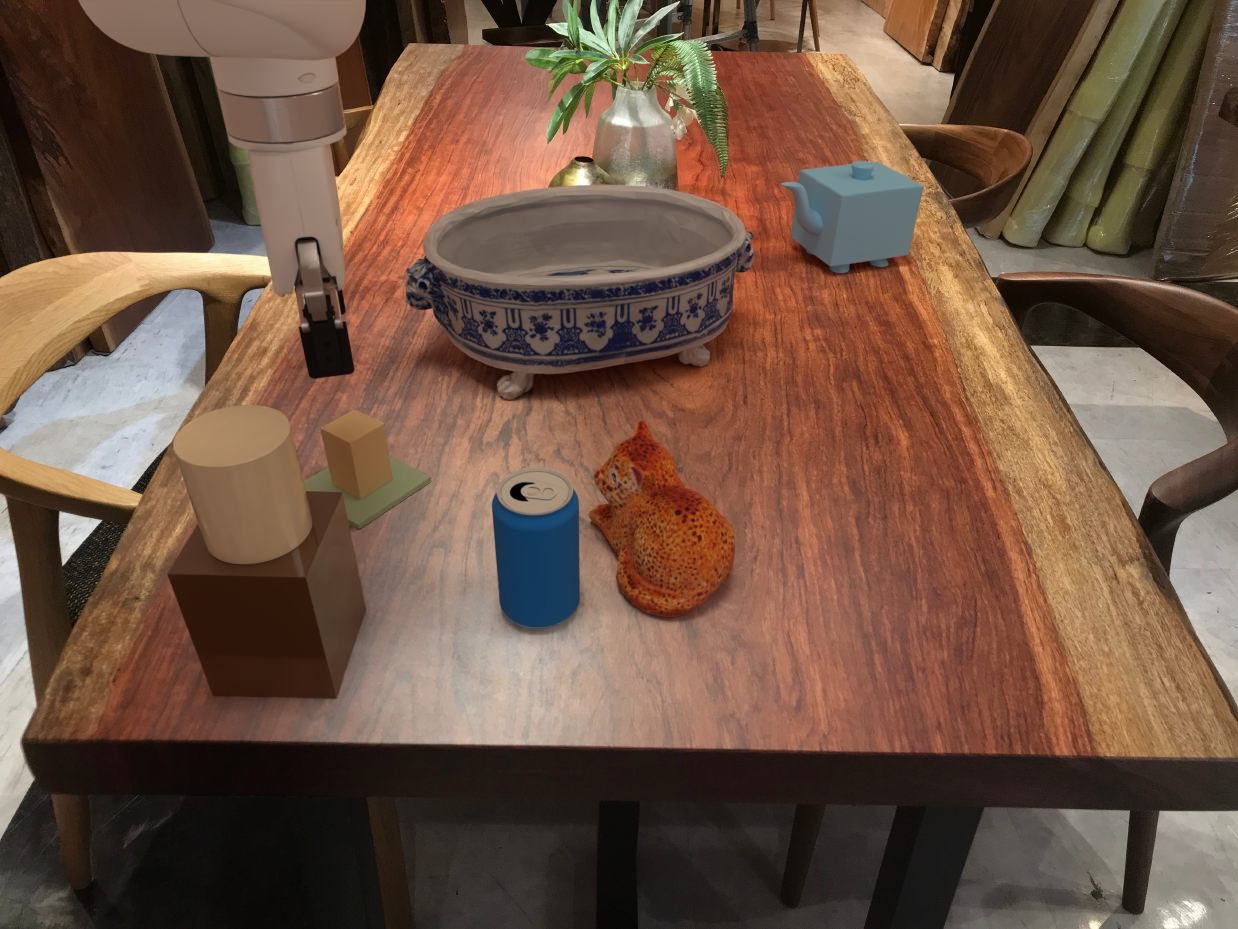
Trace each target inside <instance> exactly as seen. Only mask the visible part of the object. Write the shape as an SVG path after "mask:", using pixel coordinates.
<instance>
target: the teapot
mask: <svg viewBox="0 0 1238 929" xmlns="http://www.w3.org/2000/svg"><path fill="white" fill-rule="evenodd" d="M780 185H781V186H782V187H785V188H786V189H788V190H789V191H790V192H791V193H792V195H793V199H794V209H793V210H794V211H793V216H792V217H793V218H792V225H791V233H790V238H791V239H792V240H793V241H794V242H796V243H798V244H799V245H800V246H802V247H803V248H804V249H805V252H806V253H807V254H809V255H813V256H815V257H816V258H818V259H819V260H821V261H822V262H823V263H825V264H826V265H827V266H829V270H830V271H831V272H834V273H837V274H846V273H848V272H849V271H850V266H851V265H850V264H856V263H857V264H858V263H864V262H868V263H869V264H870V265H871V266H874V267H878V268H885V267H888V266H889V264H890V263H889V261H888V259H891V258H897V257H905V256H909V255H910V250H911V245H912V242H913V237H914V232H915V229H916V223H917V219H918V214H919V210H920V207H921V206H920V205H921V201H922V198H923V193H924V188H925V187H924V185H923V184H921V183H919V182H917V181H915V180H913V179H912V178H911V177H909V176H908V175H906V174H904V173H901V172H898V171H896V170H895V169H893V168H891V167H889V166H887V165H886V164H883V163H881V162H879V161H868V160H867V161H866V160H856V161H853V162H852V163H848V164H840V165H832V166H824V167H822V166H821V167H814V168H804V169H800V171H799V174H798V182H796V181H786V182H781V183H780Z"/></svg>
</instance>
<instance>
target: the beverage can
mask: <svg viewBox="0 0 1238 929" xmlns="http://www.w3.org/2000/svg"><path fill="white" fill-rule="evenodd" d="M491 513H492V514H491V515H492V524H493V525H492V526H493V538H494V551H495V564H496V576H497V587H498V599H499V601H498V602H499V606H500V609H501V611H502V613H503V615H504V616H505V617H506V618H507V619H508V620H510V621H511V622H513V623H515V624H516V625H519V626H521V627H524V628H530V629H544V628H550V627H554V626H557V625H559V624H562V623H564V622H566V621H567V620H568V619H570V618H571V617H572V616H573V615H574V614H575V612H576V611H577V609H578V608H579V604H580V600H581V596H580V595H581V594H580V593H581V592H580V590H581V587H580V583H581V582H580V574H581V573H580V572H581V571H580V500H579V497H578V494H577V491H576V490H575V489H574V485H573V482H572V481H571V479H570V478H569V477H568V476H567V475H566V474H565V473H563V472H561V471H559V470H557V469H554V468H551V467H545V466H529V467H523V468H518V469H516V470H513V471H511V472H509V473H508V474H506V475H505V476H503V477H502V478H501V479H500V481H499V482H498V484H497V487H496V492H495V493H494V495H493V498H492V501H491Z"/></svg>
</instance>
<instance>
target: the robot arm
mask: <svg viewBox="0 0 1238 929" xmlns="http://www.w3.org/2000/svg"><path fill="white" fill-rule="evenodd" d="M78 2H79V4H80V6H81V8H82V9H83V11H84V13H85V14H86V16H87V17H88V18H89V19H90V21H91V22H92V23H93V24H94V25H95V26H96V27H97V28H98V29H99V30H100V31H101V32H102V33H104V34H105V35H106V36H108V37H109V38H110V39H112V40H114V42H117V43H118V44H121V45H122V46H125V47H127V48H130V49H132V50H136V51H137V52H142V53H147V54H154V55H159V56H160V55H161V56H172V57H196V58H197V57H199V58H200V57H202V58H209V61H210V65H211V69H212V75H213V77H214V82H215V86H216V91H217V95H218V99H219V104H220V108H221V111H222V115H223V122H224V125H225V129H226V130H225V131H226V134H227V138H228V141H229V143H230V144H232V145H233V146H235V147H237V148H239V149H243V150H247V155H248V163H249V169H250V175H251V182H252V188H253V193H254V199H255V203H256V204H255V205H256V208H257V213H258V217H259V223H260V227H261V233H262V237H263V243H264V246H265V247H264V248H265V251H266V257H267V261H268V266H269V267H268V268H269V272H270V278H271V282H272V283H271V284H272V287H273V293H275V294H276V295H277V296H278V297H280V298H285V296H286V295H292V294H293V292H294V293H295V298H296V304H297V310H298V315H299V316H298V317H299V322H300V326H298V332H299V336H300V341H301V345H302V351H303V355H304V359H305V360H304V361H305V365H306V370H307V374H308V377H309V378H311V379H314V380H317V379H324V378H330V377H332V378H333V377H340V376H348V375H352V374H353V373H354V372H355V363H354V359H353V353H352V352H353V351H352V346H351V341H350V336H349V330H348V323H347V321H345V320H344V321H343V318H342V316H344V314H345V313H346V311H347V310H346V304H345V299H344V294H343V293H344V292H343V288H344V287H345V286H346V266H345V265H346V264H345V248H344V235H343V226H342V225H343V224H342V216H341V206H340V198H339V192H338V185H337V179H336V172H335V165H334V159H333V154H332V153H333V152H332V148H331V145H332V144H334V143H336V142H337V143H338V142H339V141H341V140H342V139H344V137H345V136H346V135H347V133H348V130H347V125H346V118H345V113H344V106H343V99H342V94H341V92H342V91H341V86H340V80H339V72H338V65H337V59H336V57H338V56H340V55H342V54H344V53H345V52H346V51H347V50H348V49H349V48H350V47H351V46H352V45H353V44H354V43H355V41H356V40H357V37H358V36H359V34H360V32H361V29H362V26H363V24H364V19H365V14H366V5H367V4H366V2H367V0H78Z"/></svg>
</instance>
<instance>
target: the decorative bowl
mask: <svg viewBox="0 0 1238 929" xmlns="http://www.w3.org/2000/svg"><path fill="white" fill-rule="evenodd" d="M754 238H755V236H754V232H752V231H747V230H746V227H745V224H744V222H743V221H742V220H741V219H740V217H739V216H738V215H737V214H736V213H735V212H733V211H732V210H731V209H730V208H728V207H726V206H724V205H722V204H721V203H720V204H719V203H718V202H716V201H714V200H711V199H708V198H704V197H702V196H699V195H696V194H692V193H687V192H683V191H679V190H674V189H669V188H662V187H653V186H646V185H645V186H644V185H628V184H627V185H626V184H624V185H623V184H582V185H581V184H579V185H567V186H566V185H565V186H553V187H543V188H535V189H526V190H520V191H514V192H509V193H502V194H497V195H491V196H489V197H485V198H481V199H478V200H474V201H471V202H468V203H466V204H462V205H459V206H457V207H456V208H454V209H452V210H450V211H448V212H446V213H445V214H443V215H442V216H440V217H439V218H438V219H436V221H434V222H433V223H432V225H431V226H430V227H429V228H428V231H427V233H426V235H425V237H424V239H423V243H422V246H423V247H422V248H423V249H422V250H423V253H424V257H423V258H418V259H417V260H416V261H415V262H414V263H413V264H412V266H410V267H408V268H406V269H405V273H406V275H407V277H408V278H407V279H406V280H405V281H404V286H405V299H404V302H405V303H406V304H408V305H409V307H410V308H412V309H415V310H417V311H427V310H432V313H433V315H434V318H435V320H436V321H437V322H438V323H439V325H441V327H442V328H443V330H444V332H445V335H446V336H447V339H449V341H450V342H451V343H452V344H453V345H454V346H455V347H456V348H457V349H458V350H460V351H461V352H462V353H464V354H465V355H467V356H468V357H469V358H471V359H473V360H475V361H477V362H481V363H483V364H485V365H487V366H490V367H493V368H497V369H502V370H505V371H512V372H510V373H508V374H505V375H503V376H501V377H500V379H498V380H497V382H496V390H497V394H498V397H502V398H503V400H509V401H510V400H511V401H512V400H514V399H516V398H518V397H521V396H522V395H523V394H524V393H527V392H529V391H530V390H531V389H533V387H534V378H535V374H537V375H538V374H539V375H554V374H556V375H557V374H558V375H559V374H570V373H577V372H582V371H590V370H597V369H602V368H608V367H613V366H619V365H625V364H630V363H639V362H643V361H649V360H655V359H661V358H664V357H669V356H672V355H674V354H678V355H677V357H678V360H679V361H680V362H681V364H683V365H689V364H690V365H692V366H694V367H701V368H702V367H705V366H707V365H708V364H709V361H710V358H711V352H710V351H709V350H708V349H707V348H706V347H705V345H704V344H706V343H708V342H710V341H712V340H714V339H715V338H716V337H718V336H719V335H721V334H722V333H723V332H724V331H725V330H726V329H727V325H728V323H729V321H730V318H731V316H732V313H733V308H734V287H735V278H736V273H738V274H739V273H746V272H748V271H750V269H751V267H752V265H753V263H754V261H755V260H754V254H755V252H756V250H755V249H754V248H753V246H752V243H751V241H752V240H753V239H754Z"/></svg>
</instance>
